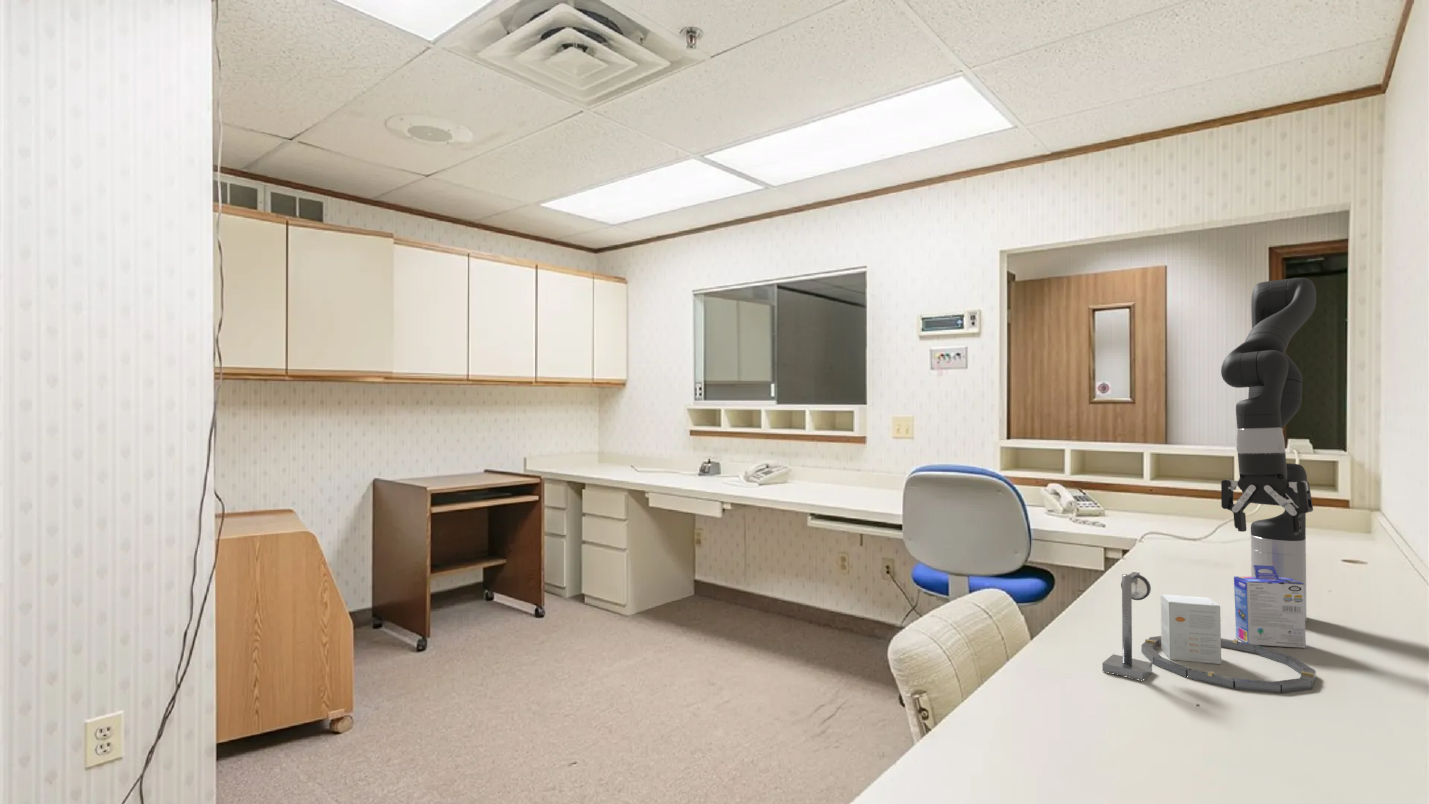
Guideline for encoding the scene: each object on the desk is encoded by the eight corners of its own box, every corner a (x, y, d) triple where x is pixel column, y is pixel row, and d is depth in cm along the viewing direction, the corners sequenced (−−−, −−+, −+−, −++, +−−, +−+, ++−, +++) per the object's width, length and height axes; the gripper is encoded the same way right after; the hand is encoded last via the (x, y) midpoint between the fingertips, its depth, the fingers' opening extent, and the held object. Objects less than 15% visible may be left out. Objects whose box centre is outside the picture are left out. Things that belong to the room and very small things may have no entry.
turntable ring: (1162, 632, 139) (1162, 625, 139) (1321, 664, 122) (1321, 655, 122) (1127, 664, 122) (1127, 655, 122) (1306, 705, 105) (1306, 695, 105)
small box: (1210, 654, 127) (1210, 597, 127) (1222, 665, 121) (1221, 605, 122) (1160, 649, 129) (1159, 593, 129) (1169, 659, 124) (1168, 601, 124)
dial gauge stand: (1118, 658, 125) (1117, 566, 125) (1156, 667, 120) (1155, 572, 121) (1102, 671, 118) (1101, 575, 119) (1142, 681, 114) (1141, 581, 114)
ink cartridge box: (1290, 639, 135) (1289, 565, 135) (1308, 649, 129) (1307, 571, 129) (1232, 636, 137) (1232, 563, 137) (1248, 645, 131) (1247, 569, 131)
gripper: (1313, 450, 134) (1320, 534, 133) (1227, 451, 146) (1233, 528, 145) (1298, 451, 130) (1305, 538, 129) (1211, 452, 142) (1217, 531, 141)
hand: (1267, 533), depth 137 cm, fingers open, 8 cm apart
